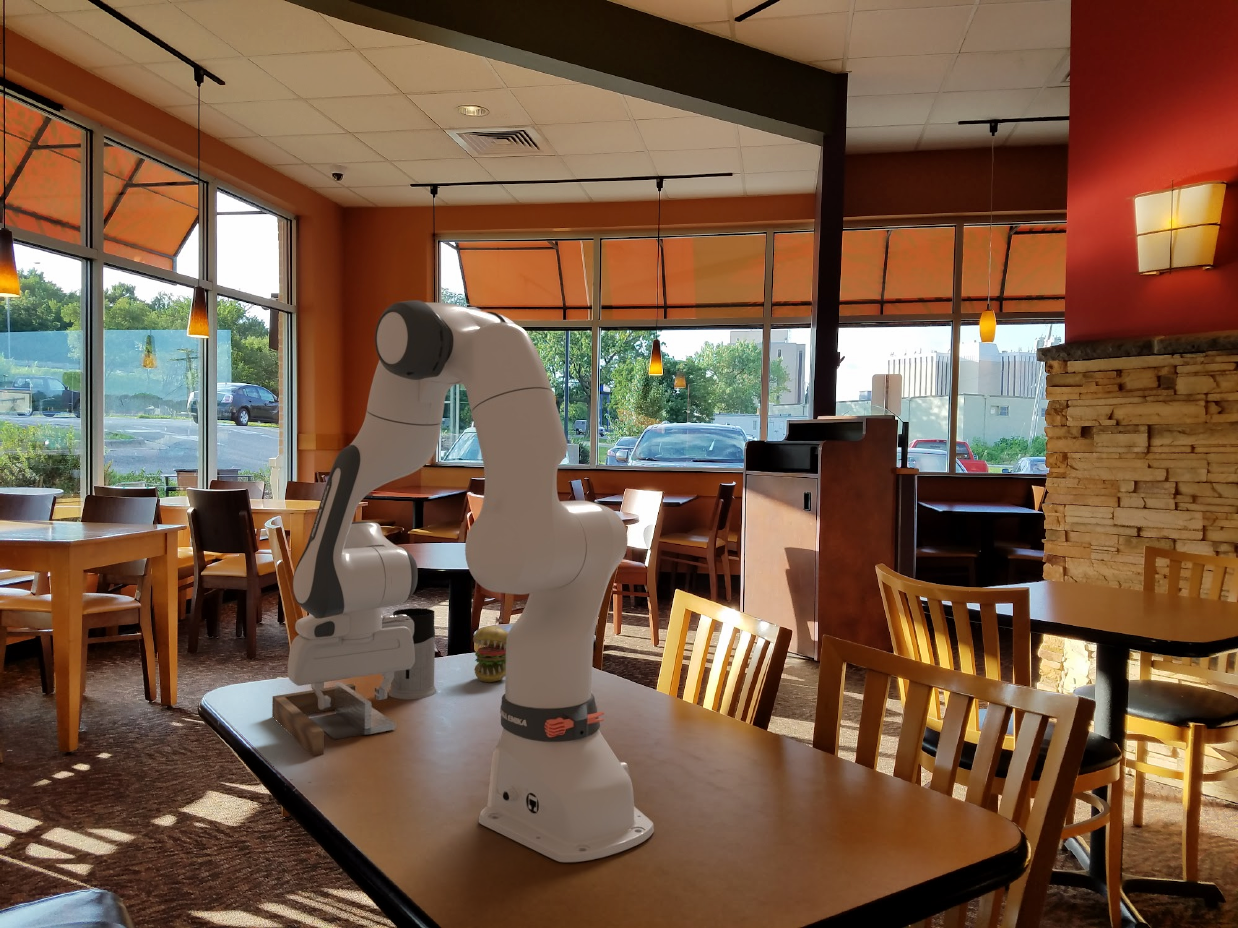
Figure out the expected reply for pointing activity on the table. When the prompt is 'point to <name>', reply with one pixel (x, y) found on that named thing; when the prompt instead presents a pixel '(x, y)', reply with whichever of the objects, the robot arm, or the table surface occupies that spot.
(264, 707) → the table surface
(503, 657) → the hamburger
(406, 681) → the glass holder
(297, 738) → the brown wooden l-shaped piece
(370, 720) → the angle bracket
